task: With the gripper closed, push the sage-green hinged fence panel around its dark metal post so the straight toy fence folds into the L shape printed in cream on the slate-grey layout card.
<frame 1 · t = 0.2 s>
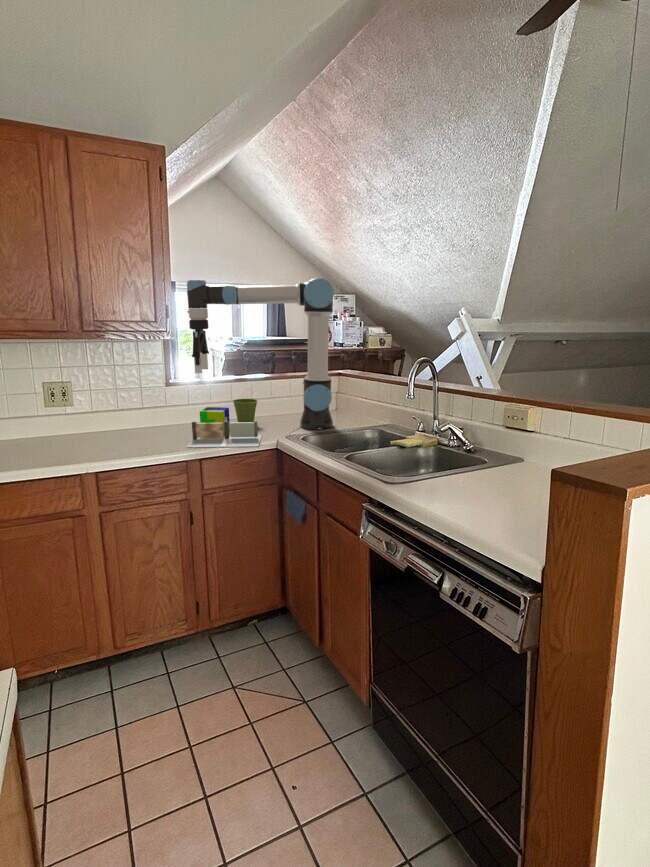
hand: (201, 371, 209), 27 cm above the worktop, fingers open, 13 cm apart
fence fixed: (227, 439, 208), resting on layout card
fence panel: (243, 429, 207), point 4 cm above the worktop, hinge at 0.0°
layout card: (225, 441, 205), on the worktop
puzzle toy: (215, 432, 221), on the worktop
plant pot: (246, 424, 236), on the worktop
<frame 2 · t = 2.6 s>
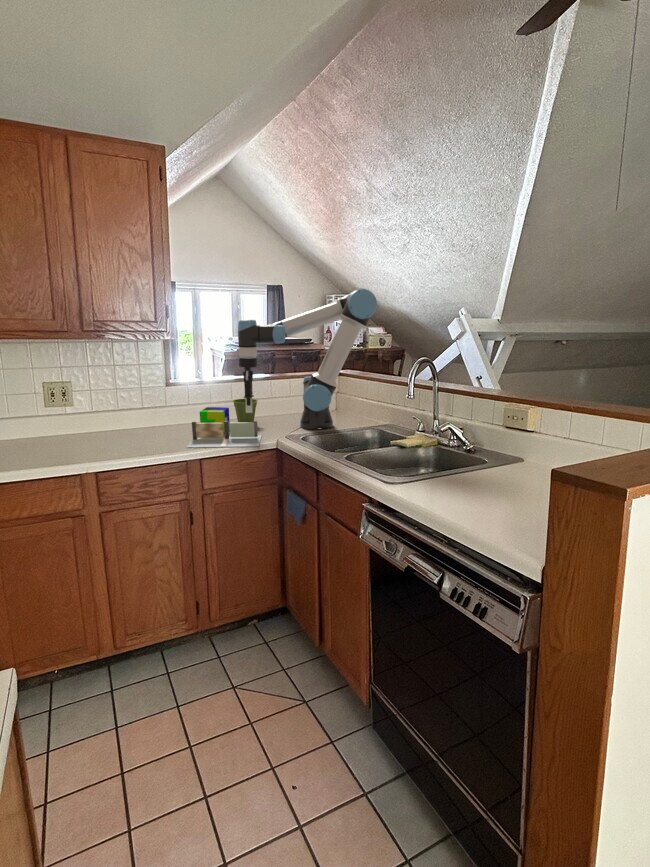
hand: (249, 412, 215), 9 cm above the worktop, fingers closed
nothing on the worktop moved.
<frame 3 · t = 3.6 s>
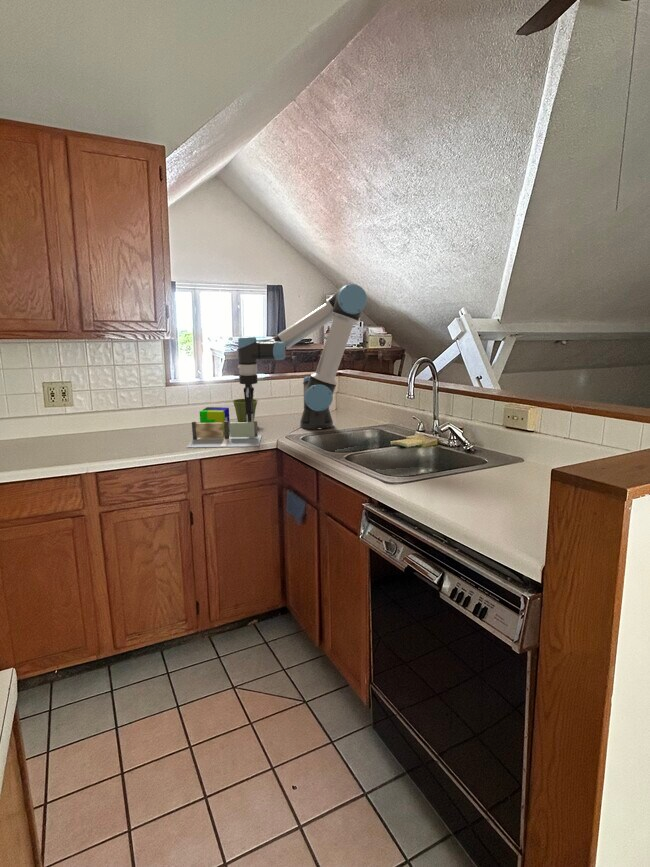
hand: (250, 428, 216), 2 cm above the worktop, fingers closed
nothing on the worktop moved.
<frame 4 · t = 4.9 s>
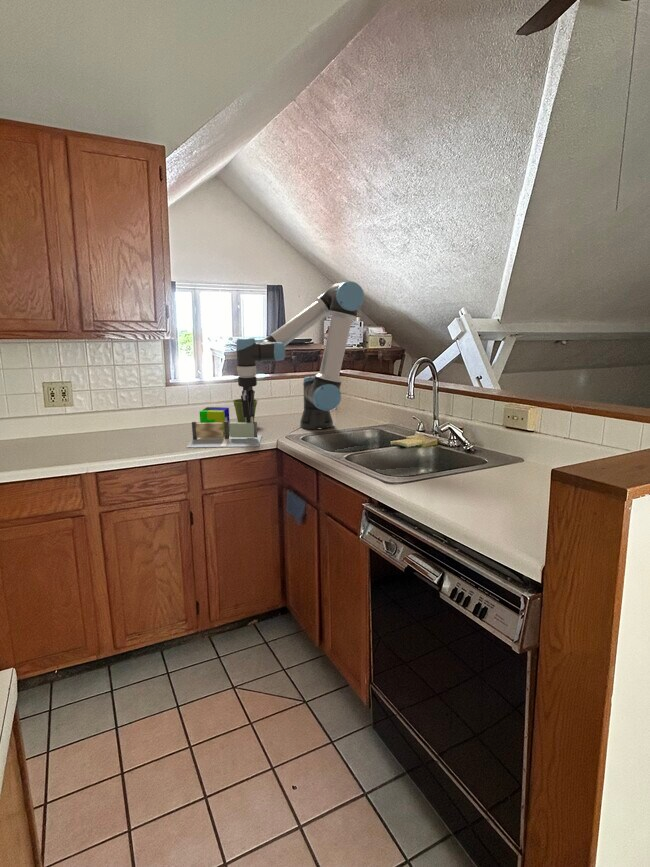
hand: (249, 432, 210), 2 cm above the worktop, fingers closed
fence panel: (243, 429, 207), point 4 cm above the worktop, hinge at 4.7°, touching gripper
everything else where it was.
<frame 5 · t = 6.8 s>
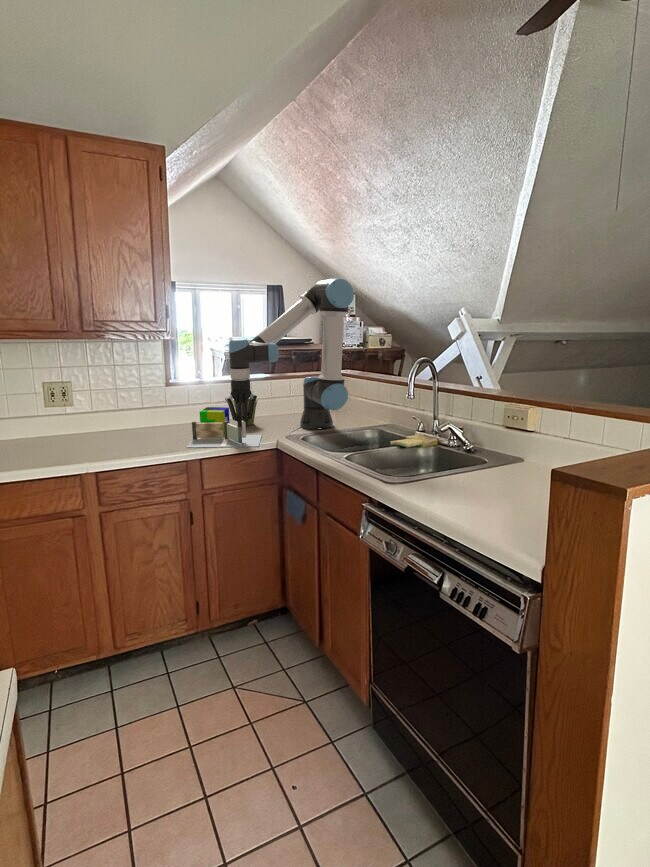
hand: (243, 436, 202), 2 cm above the worktop, fingers closed
fence panel: (234, 432, 202), point 4 cm above the worktop, hinge at 56.3°, touching gripper
everything else where it was.
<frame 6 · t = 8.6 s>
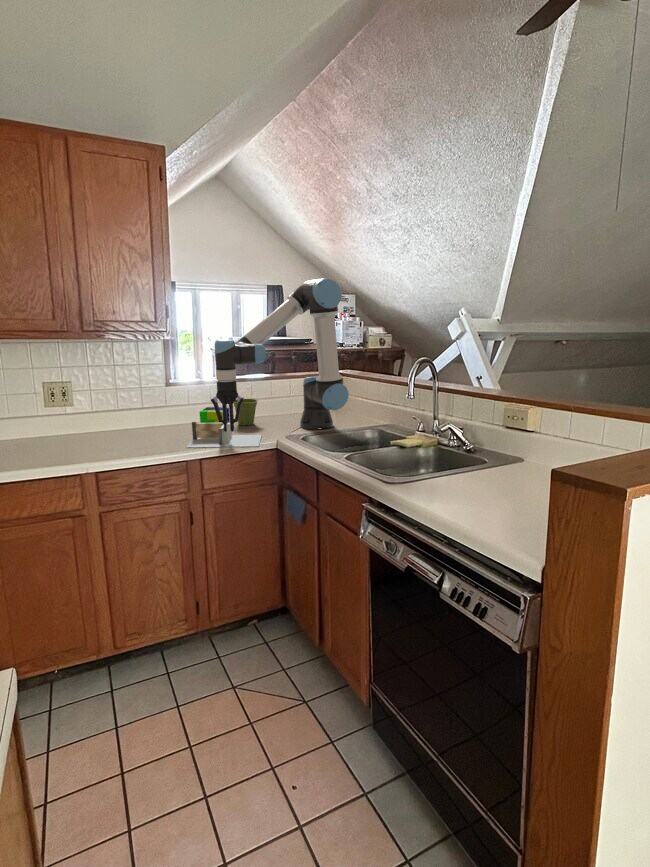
hand: (229, 439, 199), 2 cm above the worktop, fingers closed
fence panel: (223, 433, 200), point 4 cm above the worktop, hinge at 93.6°, touching gripper
everything else where it was.
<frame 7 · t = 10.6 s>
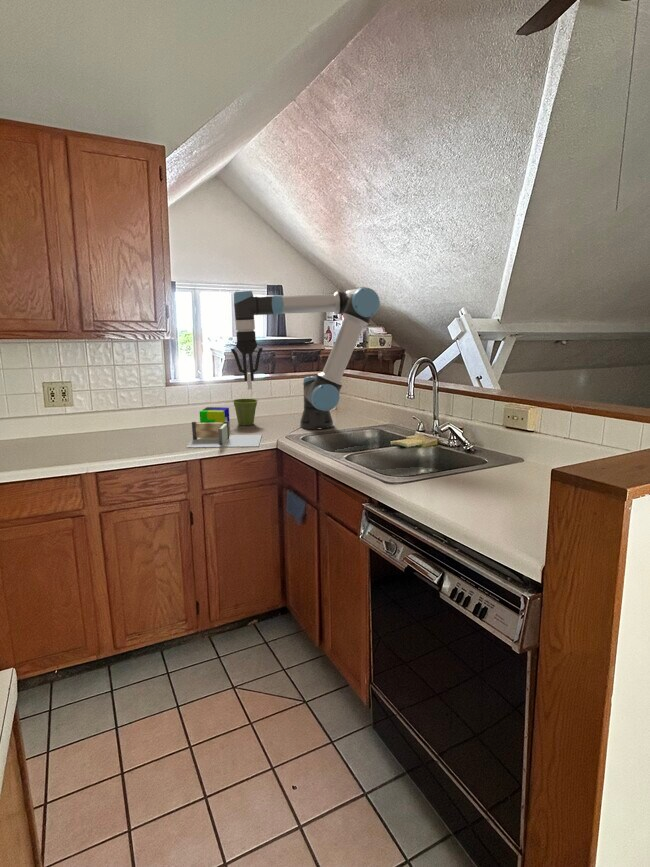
hand: (249, 388, 207), 21 cm above the worktop, fingers closed
fence panel: (222, 433, 200), point 4 cm above the worktop, hinge at 93.8°
everything else where it was.
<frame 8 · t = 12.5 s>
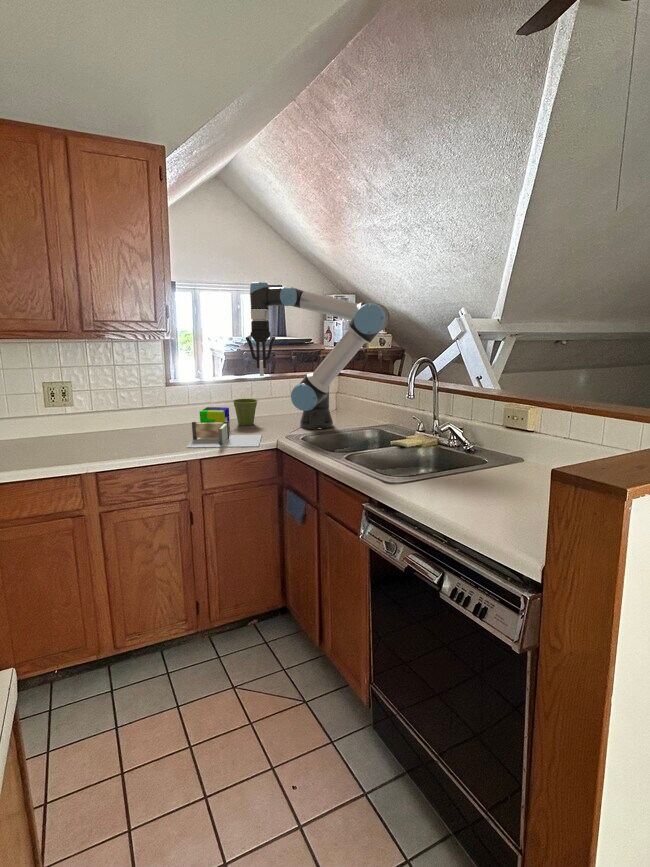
hand: (261, 375, 218), 24 cm above the worktop, fingers closed
nothing on the worktop moved.
at the end: fence panel at +94° (first picture: +0°) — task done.
